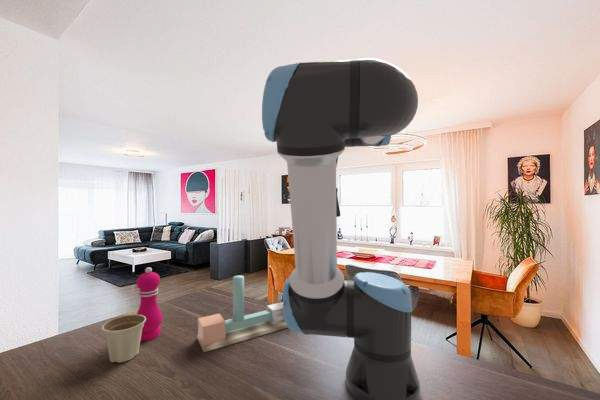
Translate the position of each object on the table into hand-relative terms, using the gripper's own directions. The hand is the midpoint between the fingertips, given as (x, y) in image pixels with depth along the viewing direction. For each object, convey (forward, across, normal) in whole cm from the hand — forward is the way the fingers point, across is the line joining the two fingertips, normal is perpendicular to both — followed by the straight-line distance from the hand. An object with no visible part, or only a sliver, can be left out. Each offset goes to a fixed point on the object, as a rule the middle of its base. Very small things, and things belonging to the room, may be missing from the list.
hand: (311, 236), depth 87 cm
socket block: (+33, +7, +23) cm, 41 cm away
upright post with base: (+30, +6, +14) cm, 33 cm away
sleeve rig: (+31, +6, +11) cm, 34 cm away
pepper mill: (+38, +20, +36) cm, 56 cm away
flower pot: (+40, +12, +42) cm, 59 cm away
